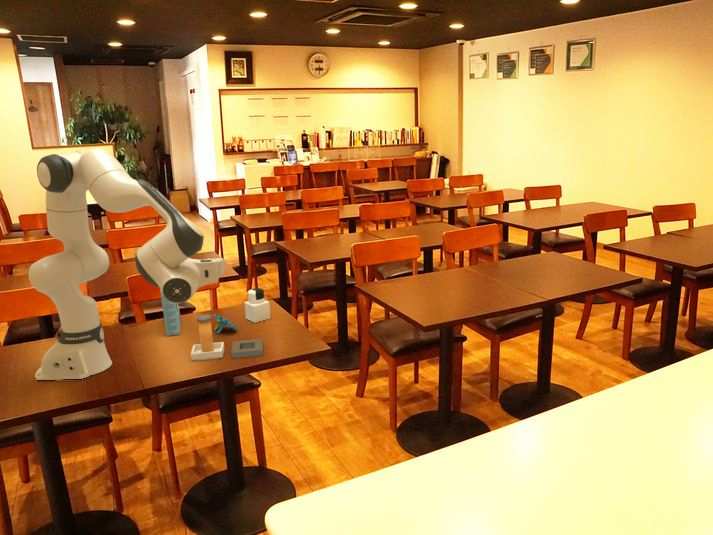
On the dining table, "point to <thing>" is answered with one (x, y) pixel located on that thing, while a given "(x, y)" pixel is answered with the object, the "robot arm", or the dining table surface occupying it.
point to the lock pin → (205, 332)
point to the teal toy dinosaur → (223, 323)
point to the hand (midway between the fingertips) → (191, 262)
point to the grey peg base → (240, 346)
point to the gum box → (171, 316)
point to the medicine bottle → (257, 306)
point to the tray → (199, 355)
